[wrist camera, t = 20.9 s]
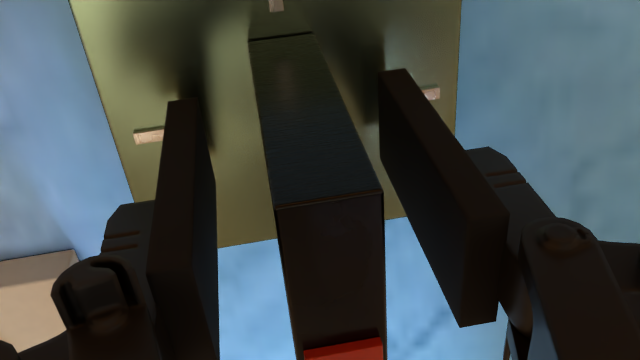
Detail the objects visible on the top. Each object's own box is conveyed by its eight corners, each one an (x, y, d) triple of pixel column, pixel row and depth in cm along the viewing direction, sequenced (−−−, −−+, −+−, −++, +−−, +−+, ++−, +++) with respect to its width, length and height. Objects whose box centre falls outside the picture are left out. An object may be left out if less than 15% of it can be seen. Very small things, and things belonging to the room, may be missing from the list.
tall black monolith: (246, 40, 15) (274, 217, 9) (314, 32, 15) (388, 198, 9) (269, 185, 18) (302, 401, 12) (326, 176, 18) (391, 384, 12)
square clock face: (440, -89, 16) (468, -75, 14) (432, 177, 21) (453, 212, 20) (74, -44, 15) (57, -23, 14) (157, 222, 20) (152, 263, 19)
